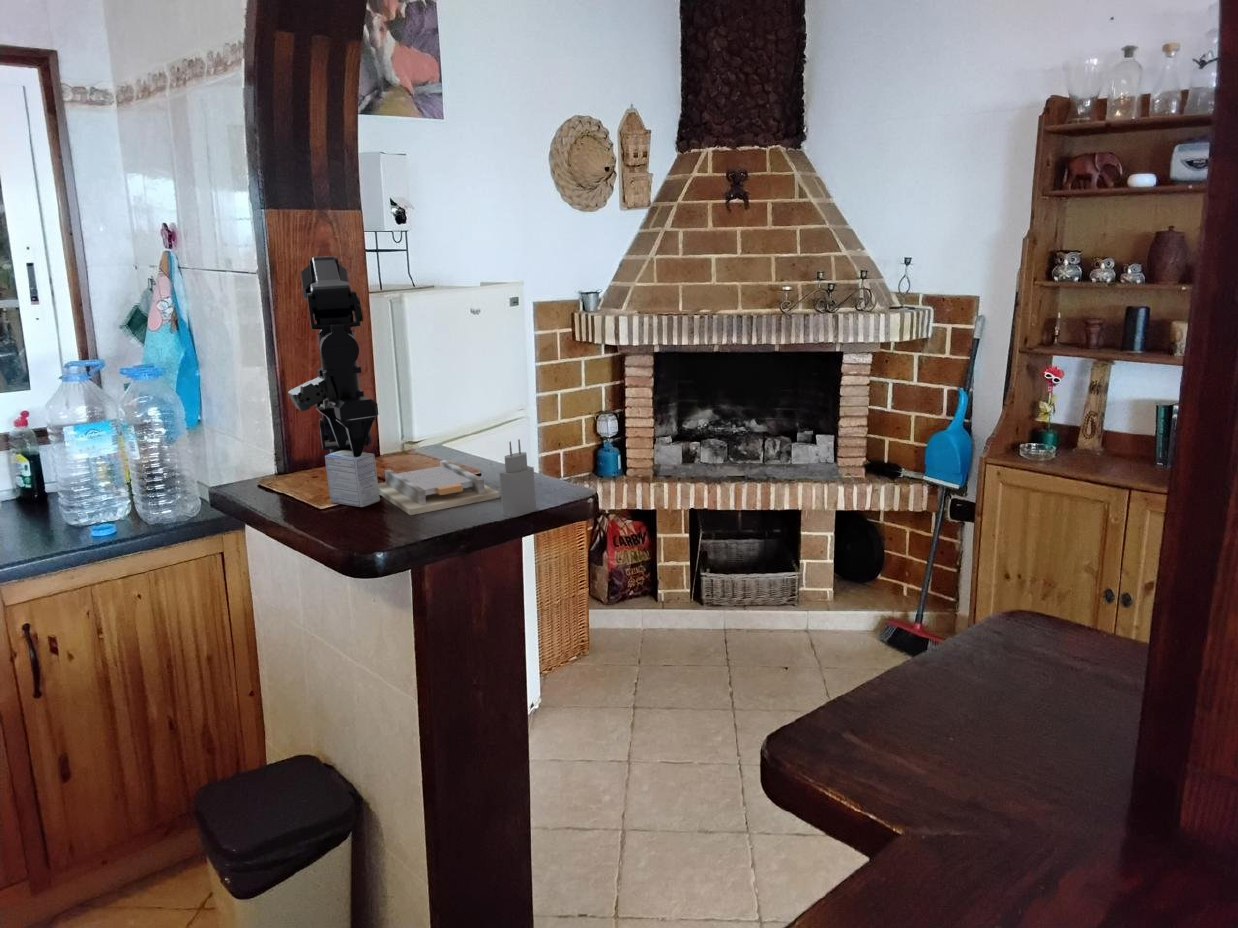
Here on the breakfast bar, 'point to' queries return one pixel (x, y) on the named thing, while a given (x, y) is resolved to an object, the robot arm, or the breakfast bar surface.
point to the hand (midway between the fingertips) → (349, 451)
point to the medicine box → (352, 478)
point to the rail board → (417, 502)
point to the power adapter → (517, 485)
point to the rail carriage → (438, 480)
